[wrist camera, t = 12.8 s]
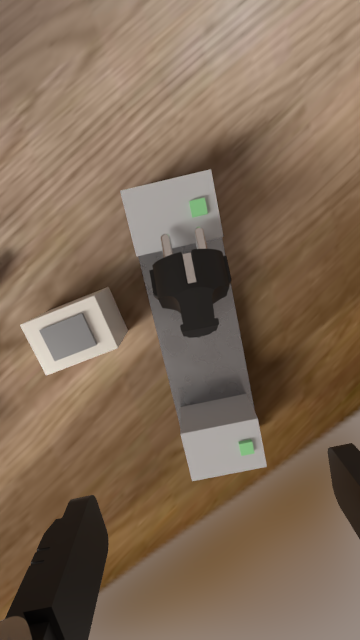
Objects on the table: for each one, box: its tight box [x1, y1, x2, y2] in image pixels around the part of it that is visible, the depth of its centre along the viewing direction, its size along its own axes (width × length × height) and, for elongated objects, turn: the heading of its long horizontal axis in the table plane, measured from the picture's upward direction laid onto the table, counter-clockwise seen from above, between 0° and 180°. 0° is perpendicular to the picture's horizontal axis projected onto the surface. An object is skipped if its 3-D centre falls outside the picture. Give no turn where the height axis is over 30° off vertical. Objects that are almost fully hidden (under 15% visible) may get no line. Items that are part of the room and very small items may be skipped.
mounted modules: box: [120, 169, 267, 481], centre depth 30 cm, size 26×7×5 cm, turn 13°
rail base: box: [138, 237, 255, 428], centre depth 34 cm, size 27×8×2 cm, turn 13°
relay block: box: [20, 287, 128, 375], centre depth 31 cm, size 5×7×6 cm
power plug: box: [149, 227, 231, 338], centre depth 27 cm, size 6×8×12 cm
